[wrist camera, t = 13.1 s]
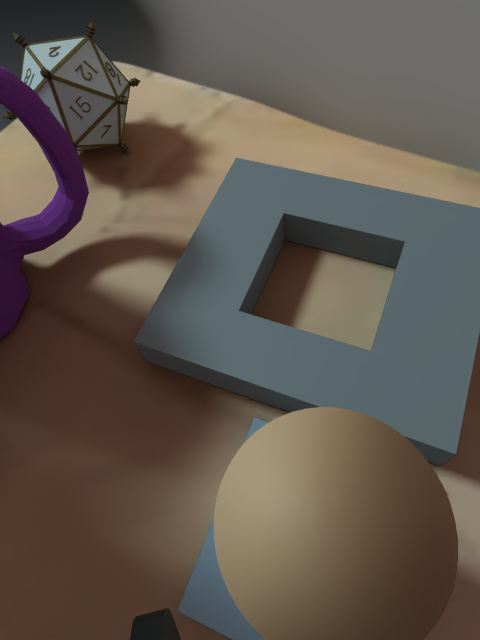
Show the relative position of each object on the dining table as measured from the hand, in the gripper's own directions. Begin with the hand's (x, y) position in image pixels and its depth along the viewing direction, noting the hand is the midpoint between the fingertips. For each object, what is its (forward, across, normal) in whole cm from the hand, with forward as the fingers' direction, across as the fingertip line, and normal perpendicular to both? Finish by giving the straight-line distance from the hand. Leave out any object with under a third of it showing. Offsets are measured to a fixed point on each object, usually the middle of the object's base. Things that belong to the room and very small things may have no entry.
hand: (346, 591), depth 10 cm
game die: (+31, +8, -15) cm, 35 cm away
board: (+17, -4, -2) cm, 18 cm away
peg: (+8, 0, +6) cm, 10 cm away
